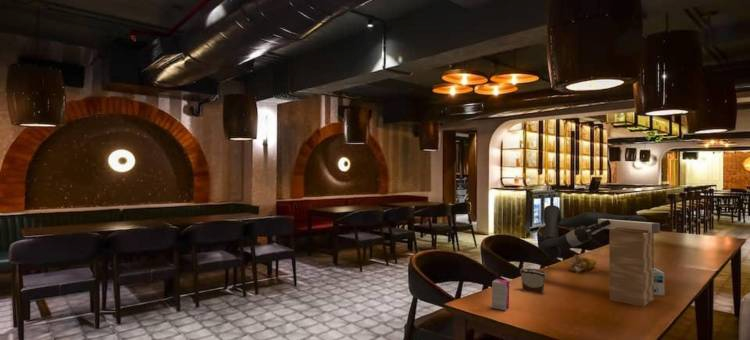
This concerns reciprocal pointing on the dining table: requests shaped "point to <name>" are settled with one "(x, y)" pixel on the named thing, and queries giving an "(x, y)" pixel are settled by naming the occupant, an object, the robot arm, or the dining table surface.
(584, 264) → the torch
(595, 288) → the dining table surface
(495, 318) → the dining table surface
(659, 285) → the light bulb box
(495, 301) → the supplement box
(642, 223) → the bar
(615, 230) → the stand
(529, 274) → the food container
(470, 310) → the dining table surface
